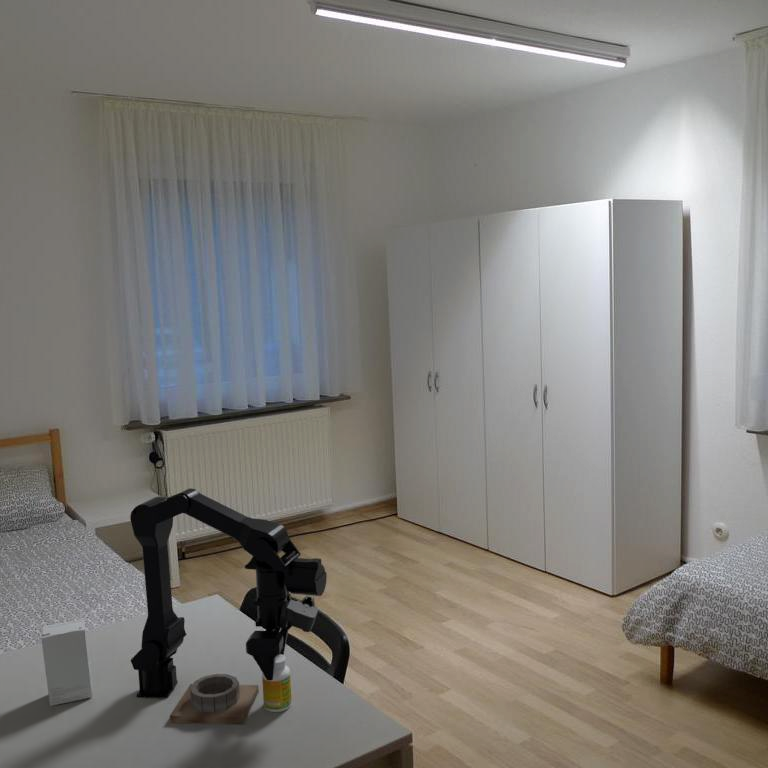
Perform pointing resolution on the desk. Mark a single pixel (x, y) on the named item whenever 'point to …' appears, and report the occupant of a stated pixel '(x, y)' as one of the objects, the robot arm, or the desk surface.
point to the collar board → (217, 716)
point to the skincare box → (67, 662)
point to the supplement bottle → (277, 687)
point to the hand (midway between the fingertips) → (275, 668)
